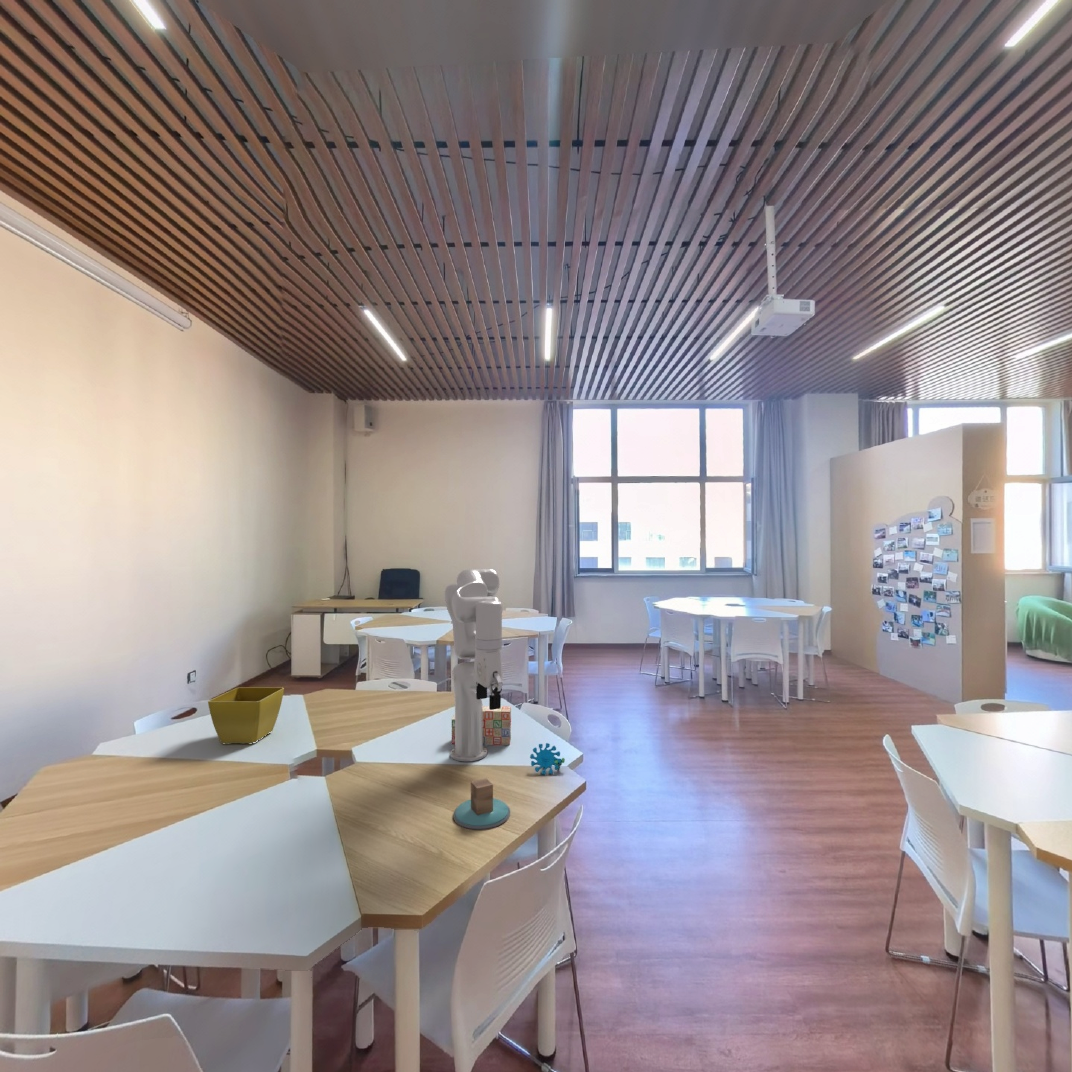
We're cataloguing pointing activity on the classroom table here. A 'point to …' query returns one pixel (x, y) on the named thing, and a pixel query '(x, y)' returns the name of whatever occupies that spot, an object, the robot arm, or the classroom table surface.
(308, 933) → the classroom table surface
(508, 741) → the stack of blocks
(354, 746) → the classroom table surface
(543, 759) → the spiky teal germ figurine
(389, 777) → the classroom table surface
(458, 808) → the teal domed disc
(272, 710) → the flower pot
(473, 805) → the walnut block
